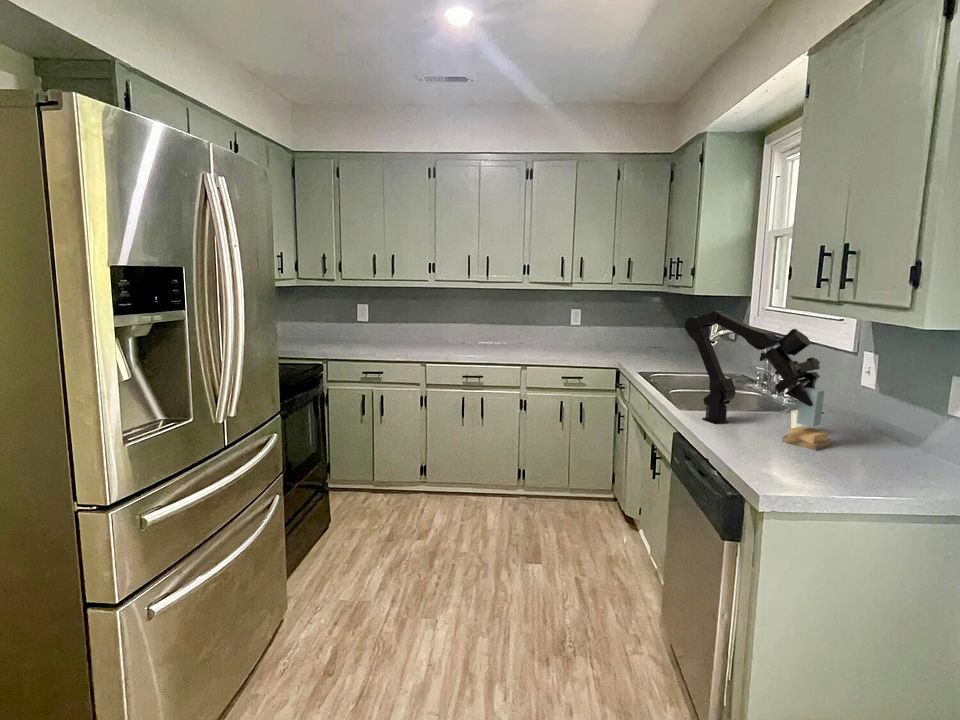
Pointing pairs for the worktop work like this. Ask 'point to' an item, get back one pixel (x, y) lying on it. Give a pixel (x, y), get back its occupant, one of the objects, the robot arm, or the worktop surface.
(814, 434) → the tower top
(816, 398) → the tall block
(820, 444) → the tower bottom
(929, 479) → the worktop surface
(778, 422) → the worktop surface
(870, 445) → the worktop surface
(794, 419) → the shot glass
